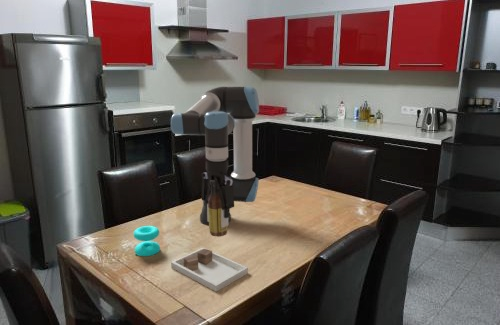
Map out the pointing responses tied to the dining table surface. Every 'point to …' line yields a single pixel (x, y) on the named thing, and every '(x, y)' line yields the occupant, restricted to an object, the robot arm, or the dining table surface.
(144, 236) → the donuts
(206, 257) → the walnut block
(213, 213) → the sauce bottle
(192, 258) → the walnut block
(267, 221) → the dining table surface
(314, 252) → the dining table surface
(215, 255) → the tray
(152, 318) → the dining table surface
